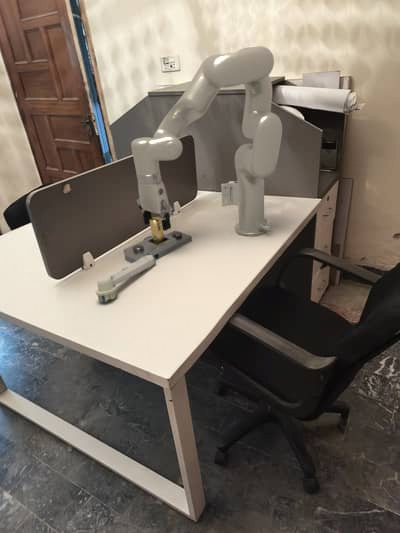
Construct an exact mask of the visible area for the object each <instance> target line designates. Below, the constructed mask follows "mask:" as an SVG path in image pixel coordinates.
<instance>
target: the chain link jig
mask: <svg viewBox="0 0 400 533" xmlns="http://www.w3.org/2000/svg"><path fill="white" fill-rule="evenodd" d="M163 235H164V242H163V243H161V244H159V245H156V244H154V243H153V239H152V235H151V236H150V237H147V238H146V239H144V240H141V241H139V242H137V243H134V244H132V245H131V246H128V247H126V248H124V249H123V254H124V260H125V261H127V262H129V263H130V264H132V263H134V262H135V261H137V260H139V259H140V258H141V257H144V256H146V255H153V256H154V257H155V259H161V258H162V257H164V256H166V255H169V254H170V253H172V252H174V251H177V249H179V248H182V247H183V246H185V245H187V244H189V243H191V242H193V237H192V235H189V234H186V233H184V232H181V231H177V230H173V231H171V232H169V233H167V234H165V233H163Z"/></svg>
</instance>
